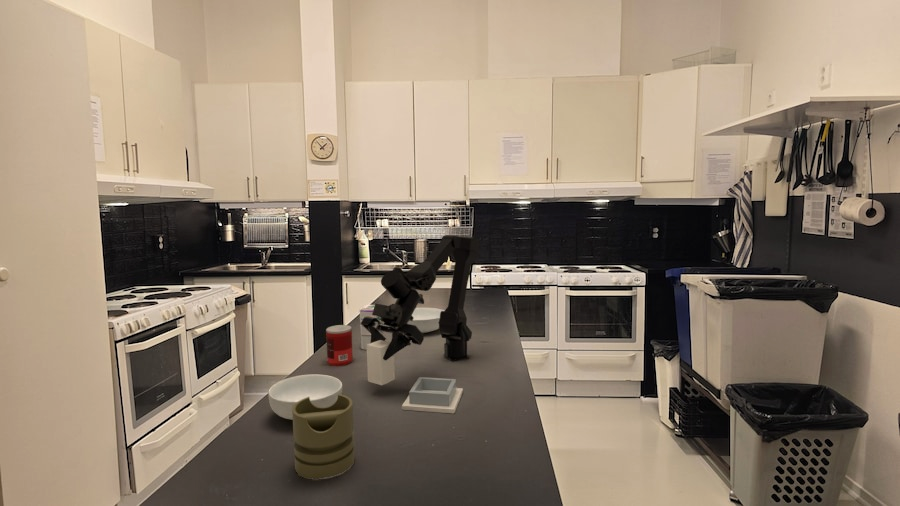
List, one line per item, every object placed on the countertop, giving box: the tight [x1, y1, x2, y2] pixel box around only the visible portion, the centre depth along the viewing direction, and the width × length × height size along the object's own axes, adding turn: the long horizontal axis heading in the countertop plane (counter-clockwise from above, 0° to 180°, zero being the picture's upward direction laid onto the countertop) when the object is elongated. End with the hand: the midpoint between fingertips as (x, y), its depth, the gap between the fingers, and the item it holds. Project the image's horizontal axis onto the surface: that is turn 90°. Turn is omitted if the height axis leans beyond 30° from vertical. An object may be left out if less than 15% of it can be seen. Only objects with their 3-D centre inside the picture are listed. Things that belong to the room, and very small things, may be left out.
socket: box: [401, 376, 464, 414], centre depth 125 cm, size 13×13×4 cm
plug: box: [366, 340, 396, 386], centre depth 129 cm, size 5×5×10 cm
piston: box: [292, 394, 355, 479], centre depth 95 cm, size 11×12×11 cm
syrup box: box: [359, 304, 383, 351], centre depth 168 cm, size 6×6×14 cm
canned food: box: [325, 324, 354, 367], centre depth 154 cm, size 8×8×11 cm
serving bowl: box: [407, 307, 445, 334], centre depth 190 cm, size 21×21×7 cm
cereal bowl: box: [267, 373, 343, 421], centre depth 117 cm, size 17×17×7 cm
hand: (376, 357), depth 128 cm, fingers closed on plug, 5 cm apart
